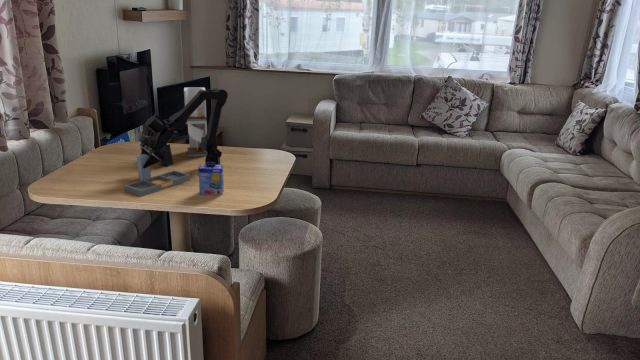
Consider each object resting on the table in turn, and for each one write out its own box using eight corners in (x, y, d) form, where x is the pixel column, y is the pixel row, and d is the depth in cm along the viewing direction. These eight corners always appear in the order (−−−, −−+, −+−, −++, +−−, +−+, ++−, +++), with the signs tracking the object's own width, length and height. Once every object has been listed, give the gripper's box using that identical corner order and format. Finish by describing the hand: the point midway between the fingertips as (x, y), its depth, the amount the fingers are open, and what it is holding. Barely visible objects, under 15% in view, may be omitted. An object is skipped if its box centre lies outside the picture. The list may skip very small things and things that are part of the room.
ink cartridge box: (199, 195, 209) (197, 162, 204) (201, 190, 214) (199, 159, 210) (222, 195, 210) (221, 163, 205) (224, 191, 215) (223, 159, 211)
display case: (187, 150, 273) (184, 87, 262) (207, 150, 276) (204, 87, 265) (187, 156, 263) (184, 90, 252) (208, 155, 265) (205, 90, 254)
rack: (174, 175, 233) (174, 170, 232) (190, 179, 227) (190, 174, 227) (125, 190, 211) (124, 185, 210) (141, 196, 206) (141, 190, 205)
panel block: (147, 176, 230) (145, 154, 226) (151, 179, 226) (149, 156, 222) (138, 178, 227) (136, 155, 224) (142, 181, 224) (140, 157, 220)
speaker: (176, 164, 249) (173, 144, 246) (167, 167, 245) (163, 146, 242) (168, 162, 254) (164, 142, 250) (158, 165, 249) (154, 145, 246)
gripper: (142, 124, 228) (120, 150, 225) (156, 132, 214) (133, 160, 212) (160, 138, 235) (138, 164, 233) (175, 147, 222) (153, 174, 219)
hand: (140, 165), depth 224 cm, fingers open, 8 cm apart
